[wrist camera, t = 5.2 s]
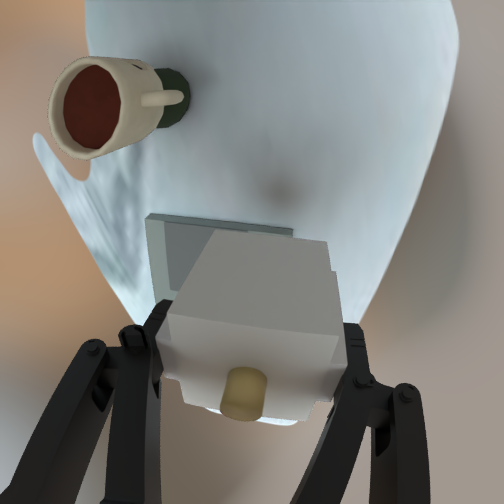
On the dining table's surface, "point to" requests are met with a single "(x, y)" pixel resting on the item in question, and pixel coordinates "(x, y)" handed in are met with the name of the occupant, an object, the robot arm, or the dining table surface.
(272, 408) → the housing
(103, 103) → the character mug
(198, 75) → the dining table surface
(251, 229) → the base plate
